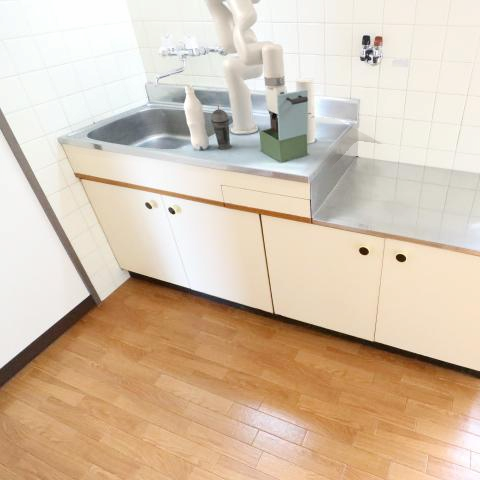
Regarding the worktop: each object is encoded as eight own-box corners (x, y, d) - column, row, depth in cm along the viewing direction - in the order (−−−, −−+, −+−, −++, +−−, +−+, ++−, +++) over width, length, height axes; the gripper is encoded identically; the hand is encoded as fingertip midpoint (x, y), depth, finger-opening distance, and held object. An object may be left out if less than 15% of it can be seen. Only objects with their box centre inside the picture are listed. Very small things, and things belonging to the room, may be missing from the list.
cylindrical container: (296, 139, 165) (292, 79, 150) (310, 136, 167) (308, 77, 153) (303, 144, 160) (300, 82, 145) (317, 141, 162) (316, 80, 148)
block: (271, 130, 150) (270, 118, 147) (280, 127, 152) (279, 116, 150) (276, 132, 147) (275, 121, 144) (286, 130, 149) (285, 119, 147)
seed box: (261, 150, 155) (259, 130, 150) (286, 143, 161) (285, 124, 156) (281, 162, 144) (279, 141, 140) (307, 154, 150) (306, 134, 146)
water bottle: (207, 150, 155) (195, 87, 141) (190, 151, 156) (176, 88, 141) (211, 144, 161) (200, 83, 147) (195, 144, 161) (182, 83, 147)
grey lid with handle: (276, 95, 129) (285, 99, 126) (306, 89, 135) (315, 93, 132) (278, 140, 140) (286, 145, 136) (306, 132, 146) (314, 137, 142)
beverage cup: (231, 143, 162) (224, 95, 151) (234, 148, 157) (227, 99, 145) (214, 145, 160) (206, 97, 149) (217, 151, 155) (208, 101, 143)
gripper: (295, 83, 135) (298, 133, 146) (272, 76, 147) (275, 123, 157) (277, 86, 132) (281, 137, 142) (255, 79, 143) (260, 126, 153)
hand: (278, 129), depth 149 cm, fingers closed on block, 4 cm apart
